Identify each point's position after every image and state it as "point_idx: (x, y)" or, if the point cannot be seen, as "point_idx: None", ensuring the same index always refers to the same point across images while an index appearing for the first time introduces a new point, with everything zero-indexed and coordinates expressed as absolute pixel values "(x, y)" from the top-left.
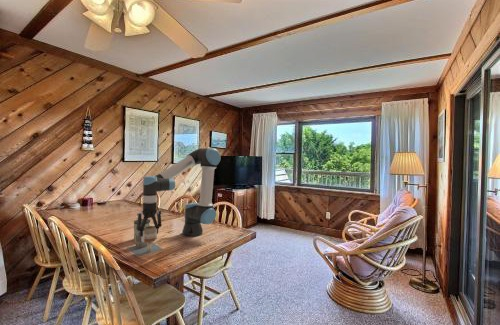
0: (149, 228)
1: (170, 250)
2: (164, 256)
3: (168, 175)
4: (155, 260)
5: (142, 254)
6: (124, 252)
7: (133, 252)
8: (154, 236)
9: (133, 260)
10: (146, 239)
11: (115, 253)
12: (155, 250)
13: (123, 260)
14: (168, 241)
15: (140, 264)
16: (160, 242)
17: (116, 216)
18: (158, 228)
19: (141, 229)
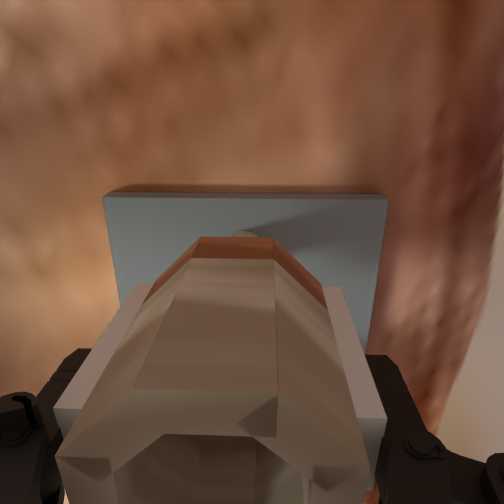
0: (251, 429)
1: (43, 181)
2: (147, 60)
3: None
4: (270, 13)
5: (327, 217)
6: None
7: (364, 313)
8: (168, 285)
9: (430, 174)
10: (303, 286)
11: (446, 401)
12: (183, 235)
13: (489, 234)
14: (8, 385)
15: (441, 16)
16: None
17: None
18: (16, 395)
19: (450, 470)
